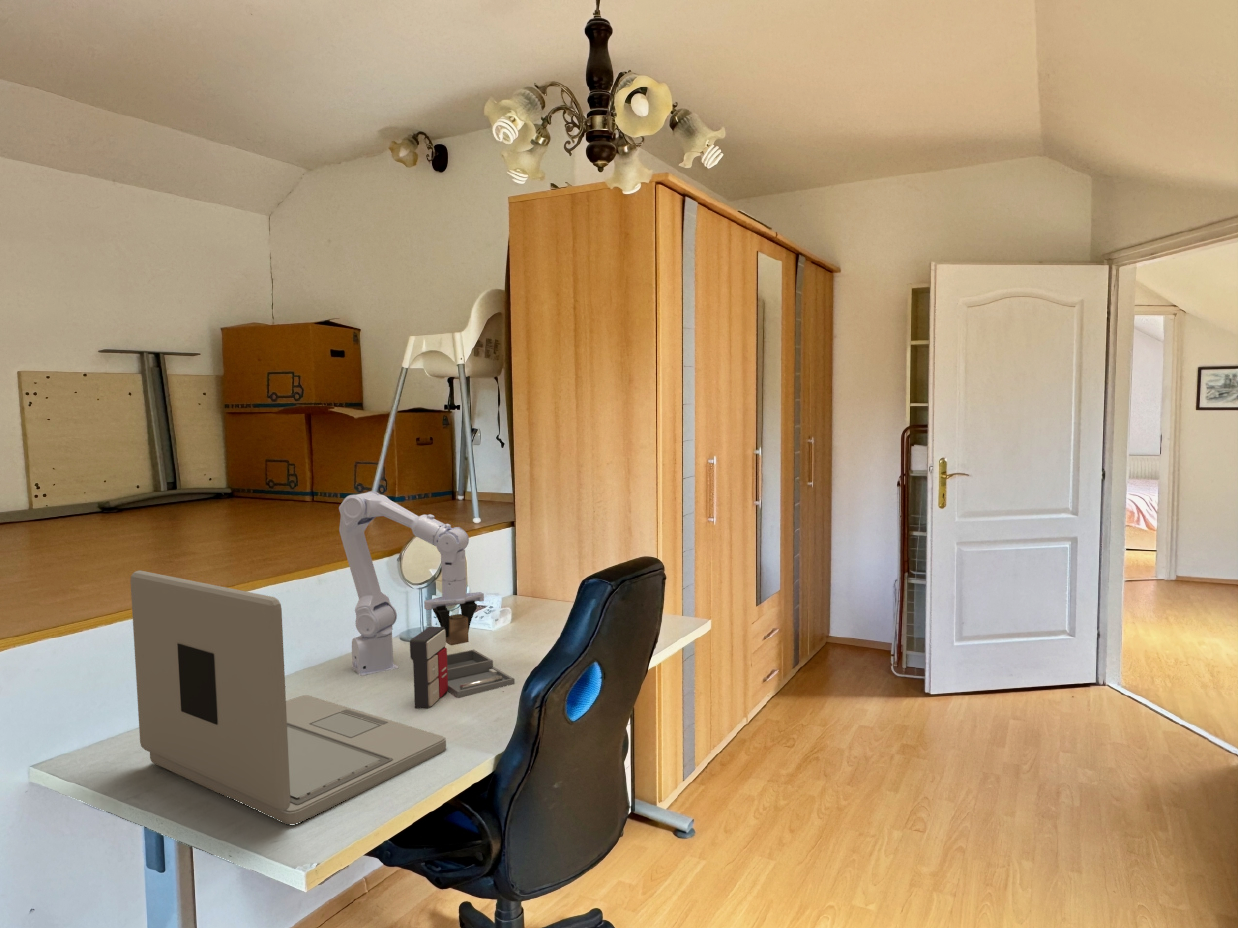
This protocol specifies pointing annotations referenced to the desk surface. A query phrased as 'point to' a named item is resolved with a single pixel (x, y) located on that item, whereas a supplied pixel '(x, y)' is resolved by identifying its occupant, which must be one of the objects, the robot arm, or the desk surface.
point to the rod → (480, 682)
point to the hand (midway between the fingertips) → (455, 634)
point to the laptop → (250, 706)
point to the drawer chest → (429, 666)
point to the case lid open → (494, 672)
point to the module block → (457, 629)
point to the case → (467, 664)
